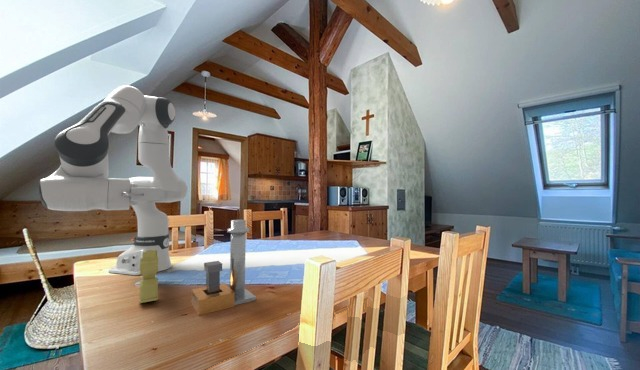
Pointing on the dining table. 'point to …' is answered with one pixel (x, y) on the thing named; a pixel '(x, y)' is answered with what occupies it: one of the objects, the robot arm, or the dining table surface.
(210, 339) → the dining table surface
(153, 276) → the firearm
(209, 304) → the metal post on base
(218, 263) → the grey square peg
